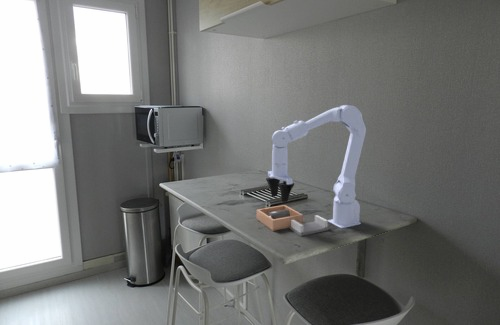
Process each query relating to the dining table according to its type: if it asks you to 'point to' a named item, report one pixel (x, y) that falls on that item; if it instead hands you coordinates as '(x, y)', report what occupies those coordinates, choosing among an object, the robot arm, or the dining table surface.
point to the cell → (279, 214)
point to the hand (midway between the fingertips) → (279, 198)
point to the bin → (280, 222)
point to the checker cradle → (309, 226)
